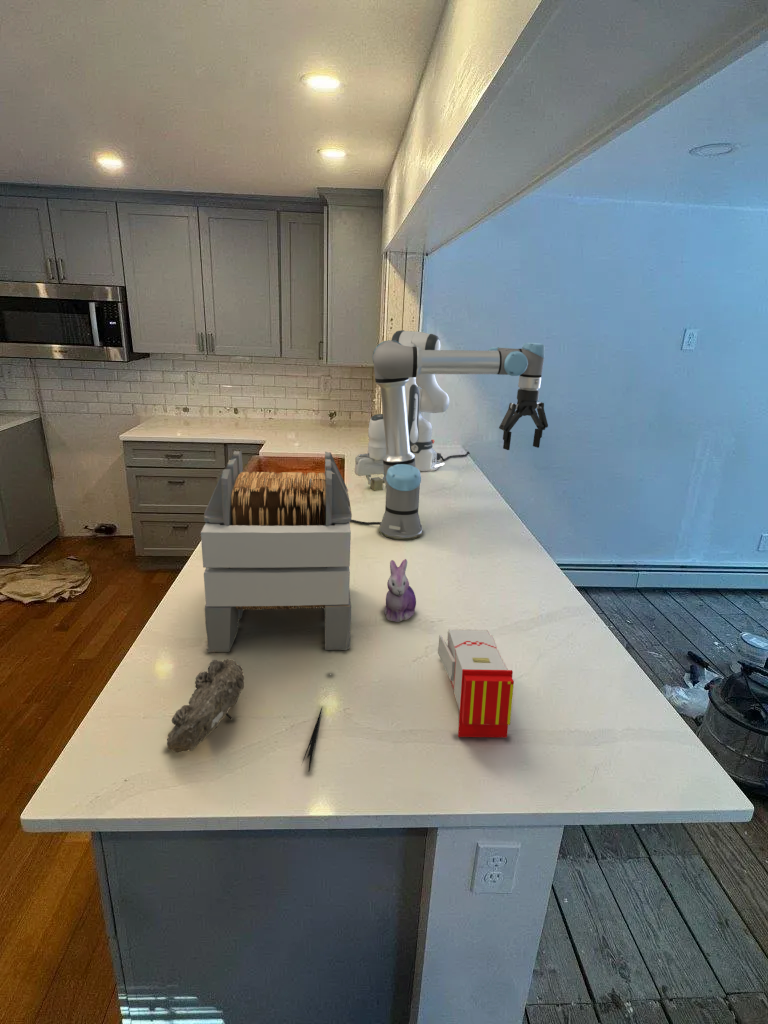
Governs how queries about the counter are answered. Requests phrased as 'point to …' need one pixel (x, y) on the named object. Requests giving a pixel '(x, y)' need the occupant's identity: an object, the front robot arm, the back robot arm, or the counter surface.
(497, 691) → the toy
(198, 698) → the fossil
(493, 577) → the counter surface
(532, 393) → the front robot arm
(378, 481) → the metal block
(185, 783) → the counter surface
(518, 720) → the counter surface
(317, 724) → the feather
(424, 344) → the back robot arm
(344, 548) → the record storage crate
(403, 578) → the figurine
